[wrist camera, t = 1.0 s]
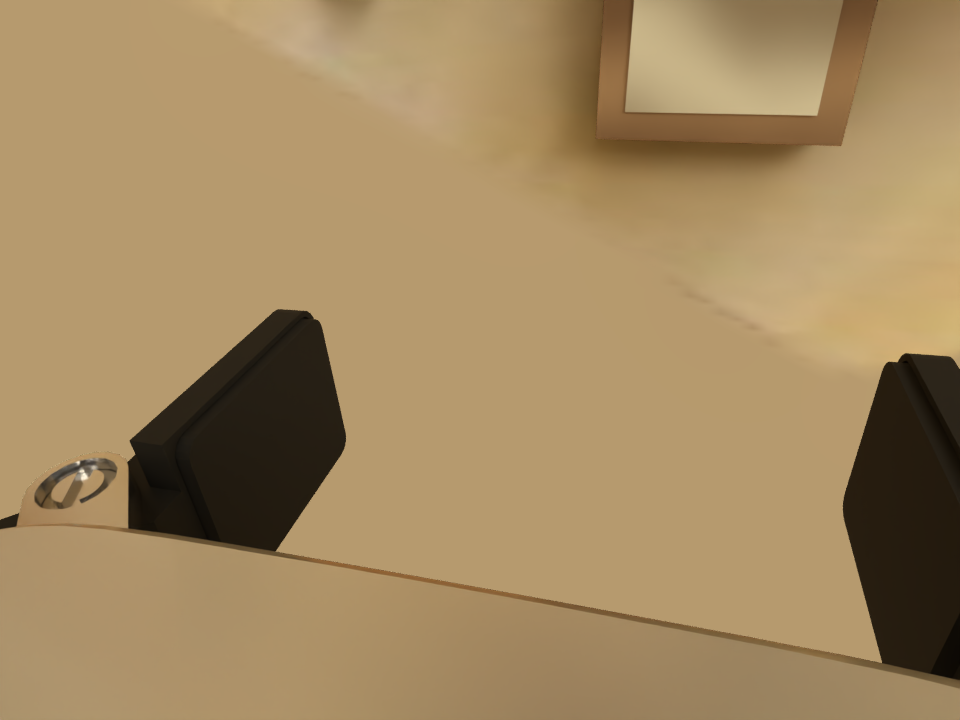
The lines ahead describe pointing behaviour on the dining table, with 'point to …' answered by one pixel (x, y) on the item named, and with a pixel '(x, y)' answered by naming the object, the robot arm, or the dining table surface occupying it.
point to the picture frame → (731, 69)
